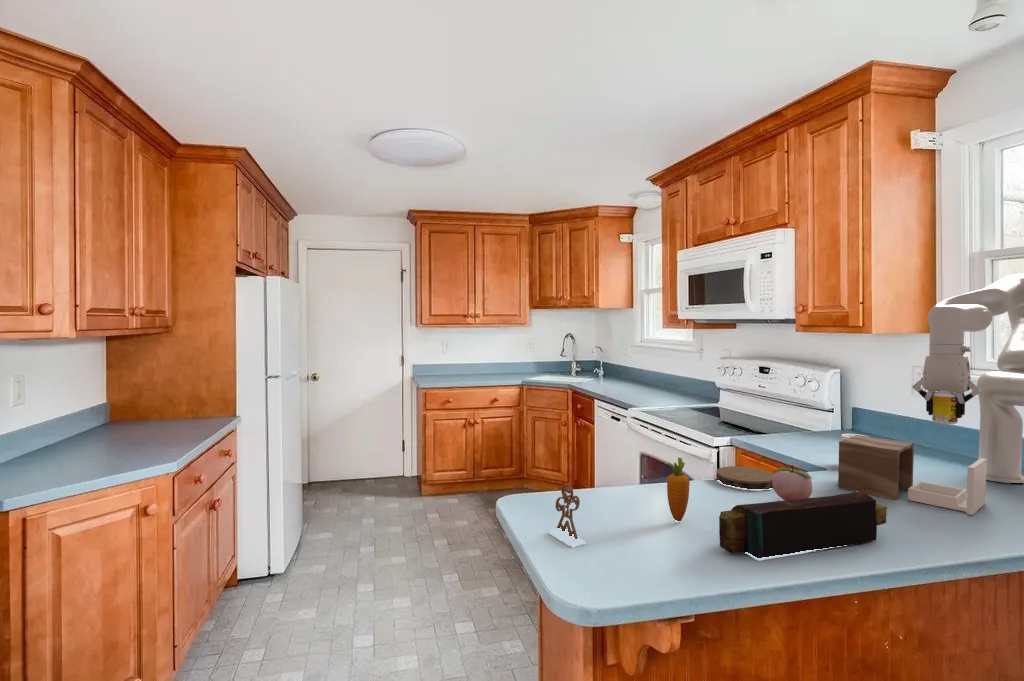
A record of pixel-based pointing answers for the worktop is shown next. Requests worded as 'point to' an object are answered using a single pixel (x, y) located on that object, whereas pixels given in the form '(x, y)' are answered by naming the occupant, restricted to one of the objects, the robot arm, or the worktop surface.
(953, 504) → the drawer
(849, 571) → the worktop surface
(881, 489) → the cabinet
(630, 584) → the worktop surface
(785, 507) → the packaged item
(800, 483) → the decorative fruit
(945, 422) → the supplement bottle
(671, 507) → the carrot
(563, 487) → the gingerbread man figurine
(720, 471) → the brown round disc
